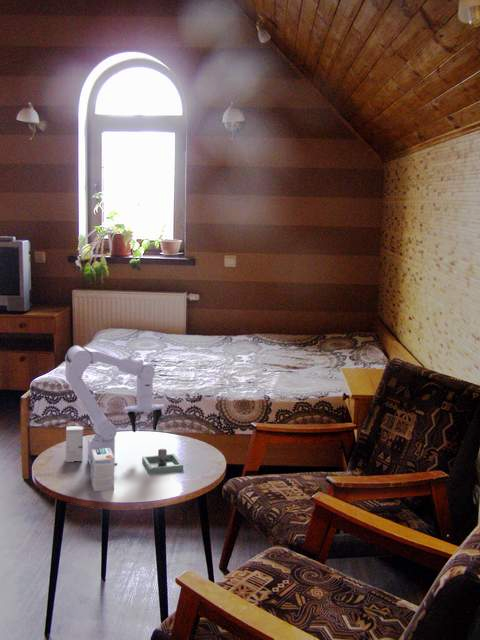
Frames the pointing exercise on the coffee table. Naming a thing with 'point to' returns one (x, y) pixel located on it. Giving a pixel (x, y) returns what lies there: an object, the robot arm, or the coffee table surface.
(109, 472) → the light bulb box
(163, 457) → the cell
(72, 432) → the skincare box
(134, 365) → the robot arm
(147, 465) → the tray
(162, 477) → the coffee table surface
